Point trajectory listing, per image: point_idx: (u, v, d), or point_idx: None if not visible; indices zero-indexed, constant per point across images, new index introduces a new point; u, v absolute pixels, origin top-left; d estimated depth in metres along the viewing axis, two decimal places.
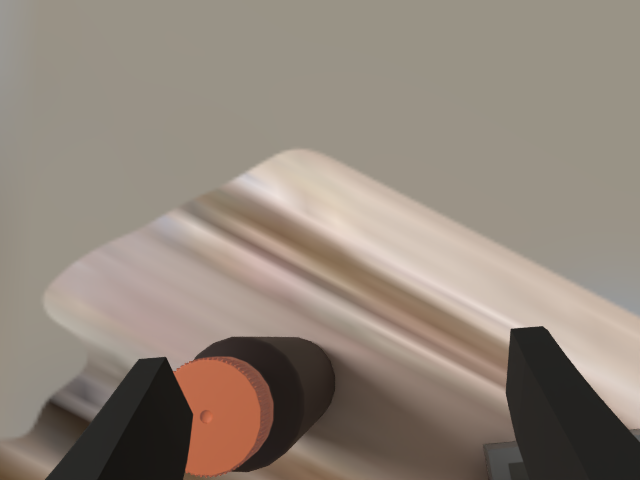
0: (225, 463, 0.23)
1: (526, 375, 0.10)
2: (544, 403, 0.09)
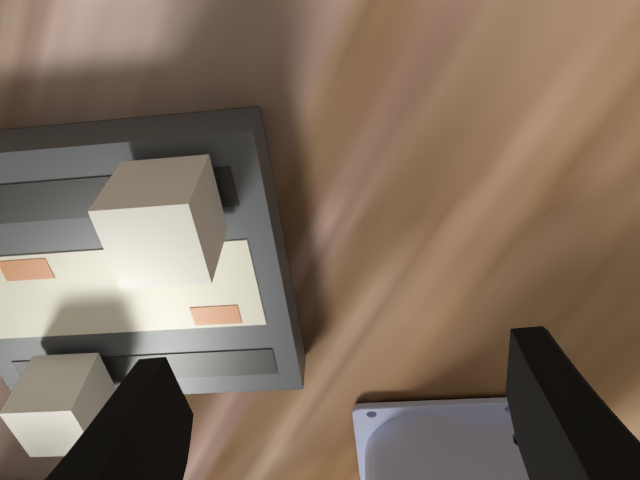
0: None
1: (526, 375, 0.10)
2: (544, 403, 0.09)
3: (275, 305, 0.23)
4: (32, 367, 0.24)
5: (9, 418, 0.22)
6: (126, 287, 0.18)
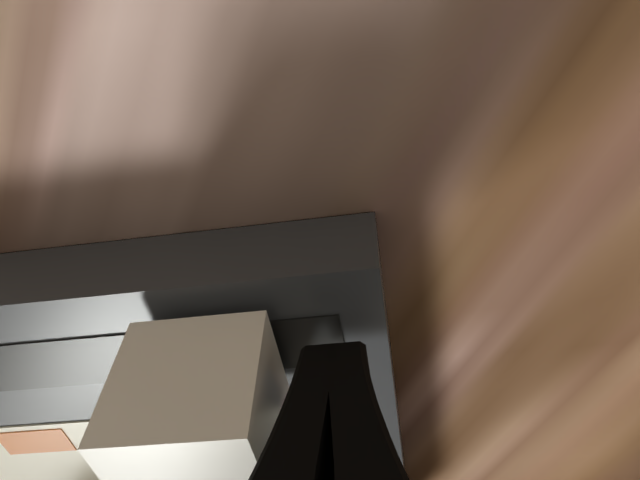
0: None
1: None
2: None
3: None
4: None
5: None
6: None
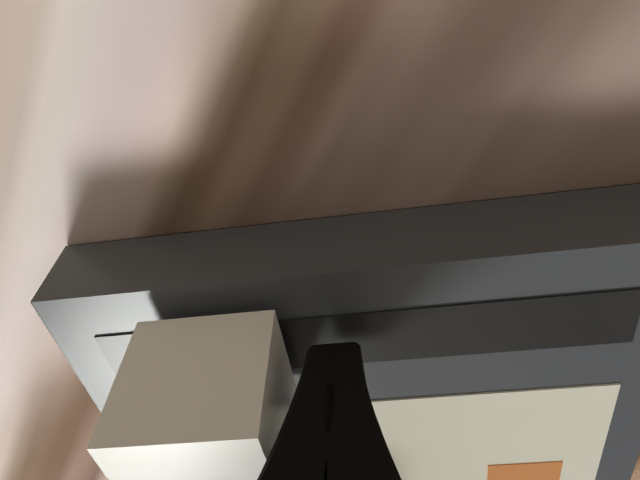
0: None
1: None
2: None
3: (619, 460, 0.15)
4: None
5: None
6: None
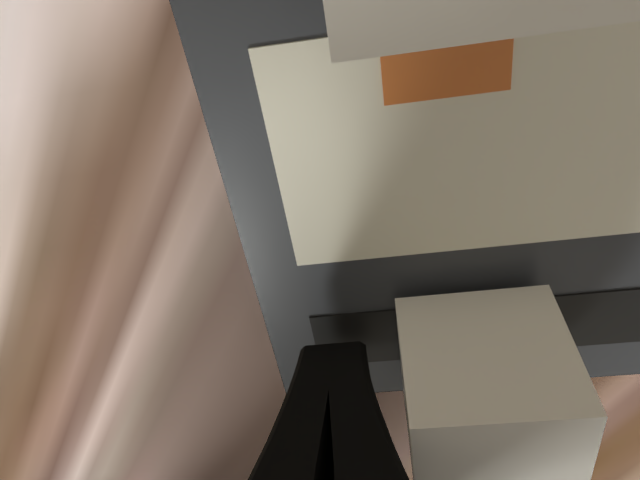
0: None
1: None
2: None
3: None
4: (412, 320, 0.11)
5: (429, 440, 0.09)
6: (353, 53, 0.05)
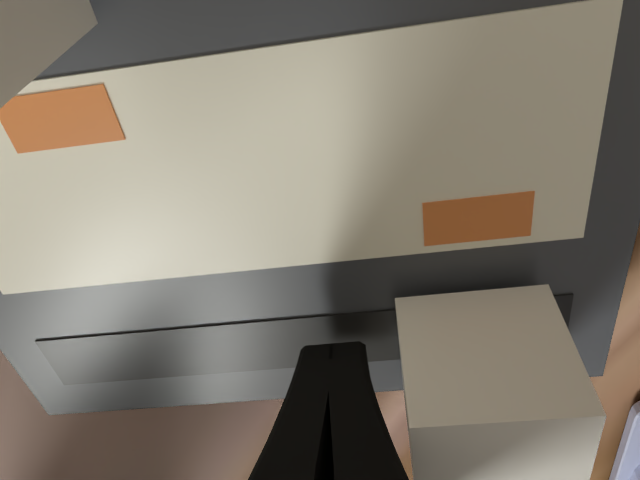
0: None
1: None
2: None
3: (620, 189, 0.10)
4: (412, 319, 0.11)
5: (429, 438, 0.09)
6: None
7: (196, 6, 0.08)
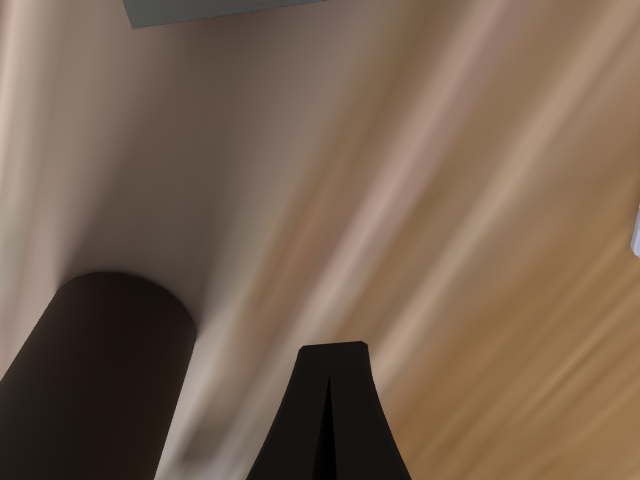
0: None
1: None
2: None
3: None
4: None
5: None
6: None
7: None
